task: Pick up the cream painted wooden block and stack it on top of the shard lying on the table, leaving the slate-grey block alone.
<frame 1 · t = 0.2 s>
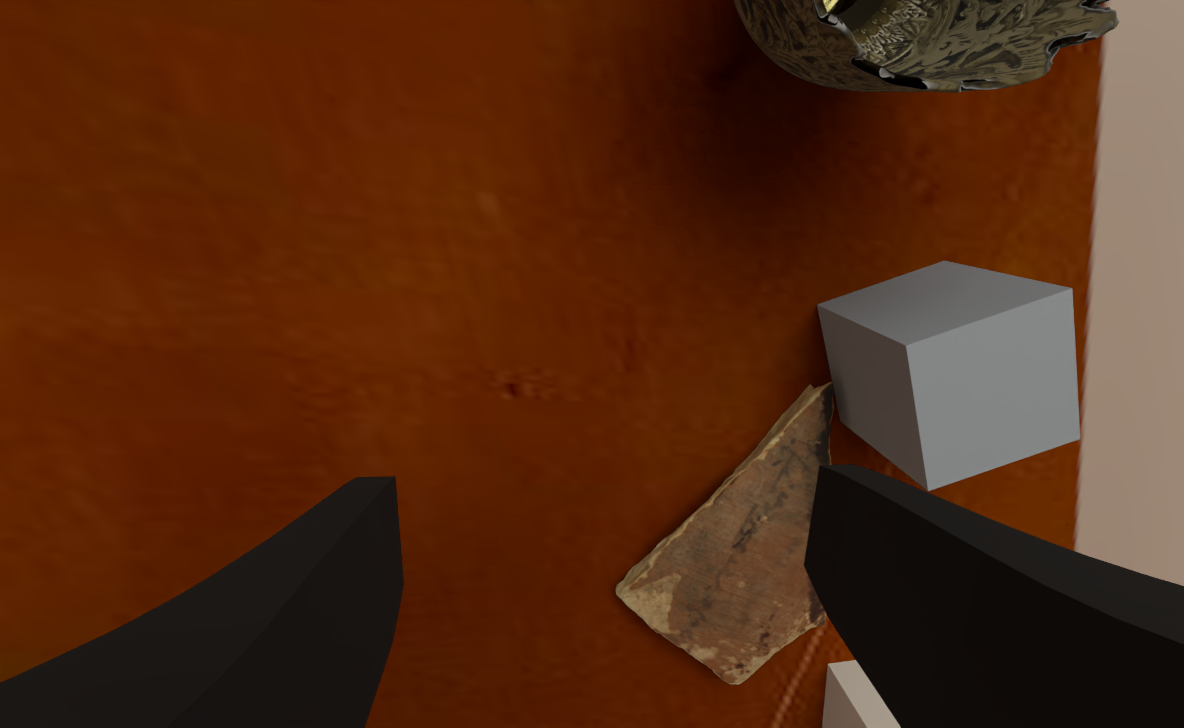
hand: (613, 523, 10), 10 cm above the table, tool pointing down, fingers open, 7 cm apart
shard: (712, 526, 23), on the table
cream block: (873, 697, 26), on the table
slate block: (889, 343, 21), on the table
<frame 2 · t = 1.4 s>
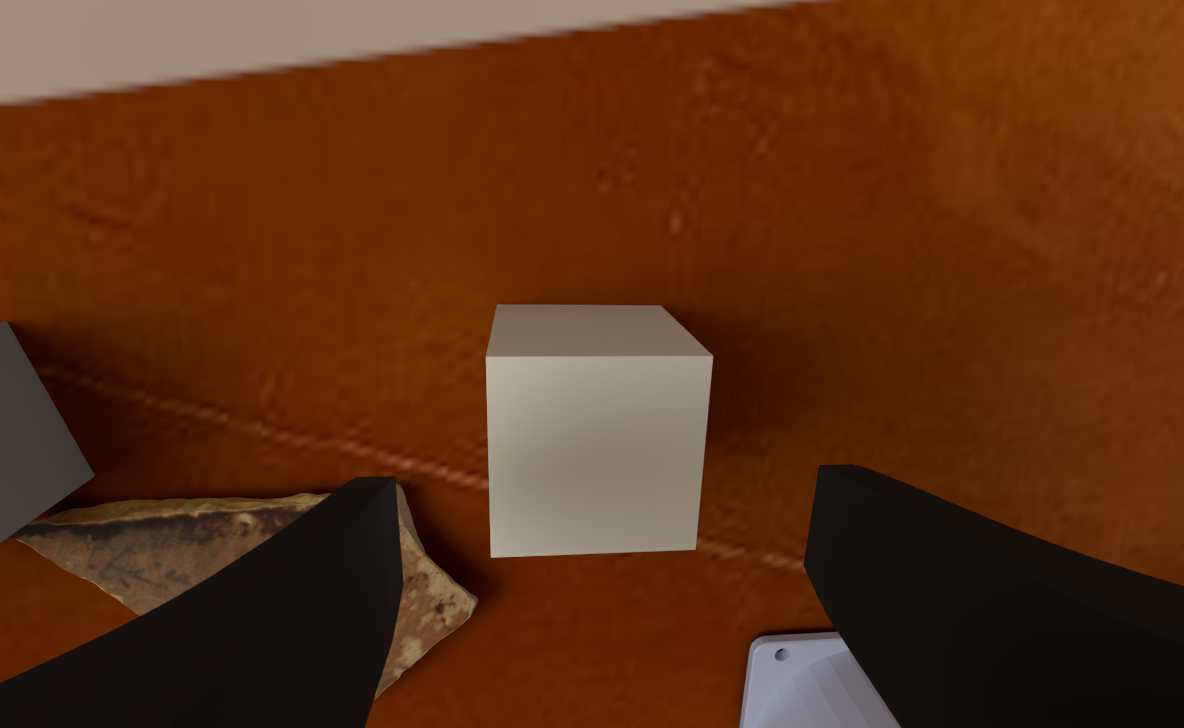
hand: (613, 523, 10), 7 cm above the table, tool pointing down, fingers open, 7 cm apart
shard: (286, 588, 19), on the table
cream block: (578, 381, 17), on the table
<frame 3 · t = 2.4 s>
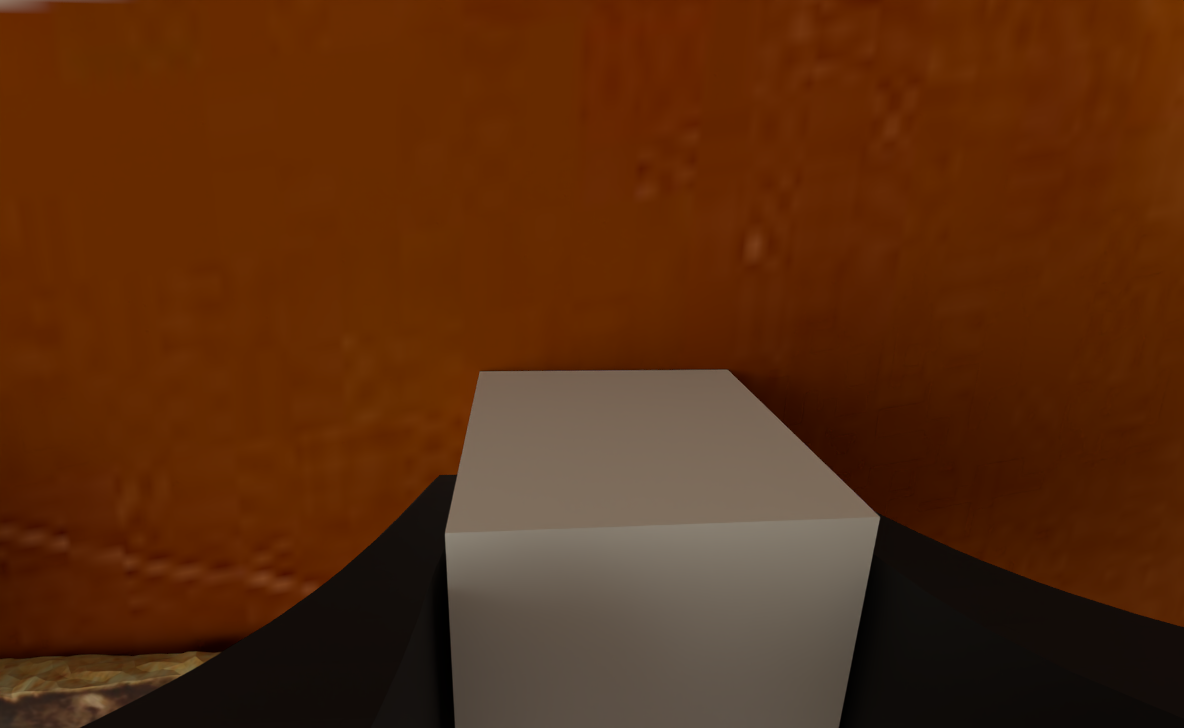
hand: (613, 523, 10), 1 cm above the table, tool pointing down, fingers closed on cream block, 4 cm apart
cream block: (602, 482, 12), on the table, touching gripper
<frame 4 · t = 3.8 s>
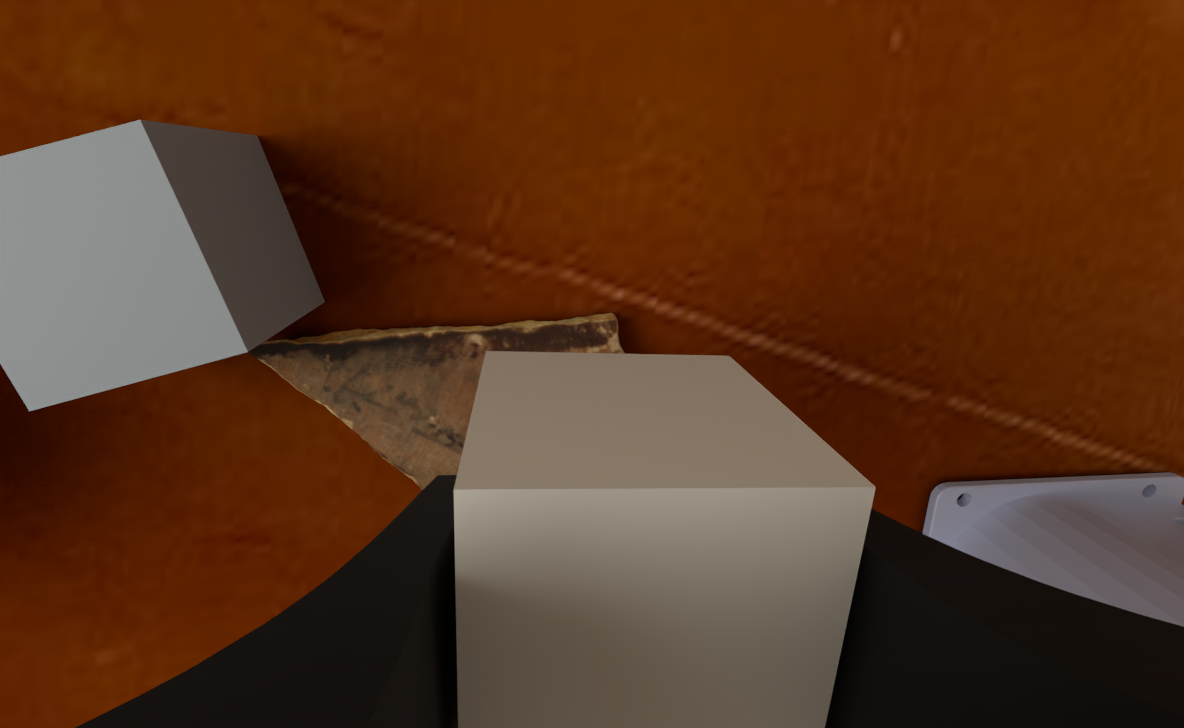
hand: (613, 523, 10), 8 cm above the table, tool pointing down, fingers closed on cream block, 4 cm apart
shard: (486, 433, 19), on the table
cream block: (603, 464, 12), point 7 cm above the table, touching gripper
slate block: (211, 244, 16), on the table
when the fingers open (5 cm above the table, at t = 5.2 s): cream block drops 2 cm, resting on shard.
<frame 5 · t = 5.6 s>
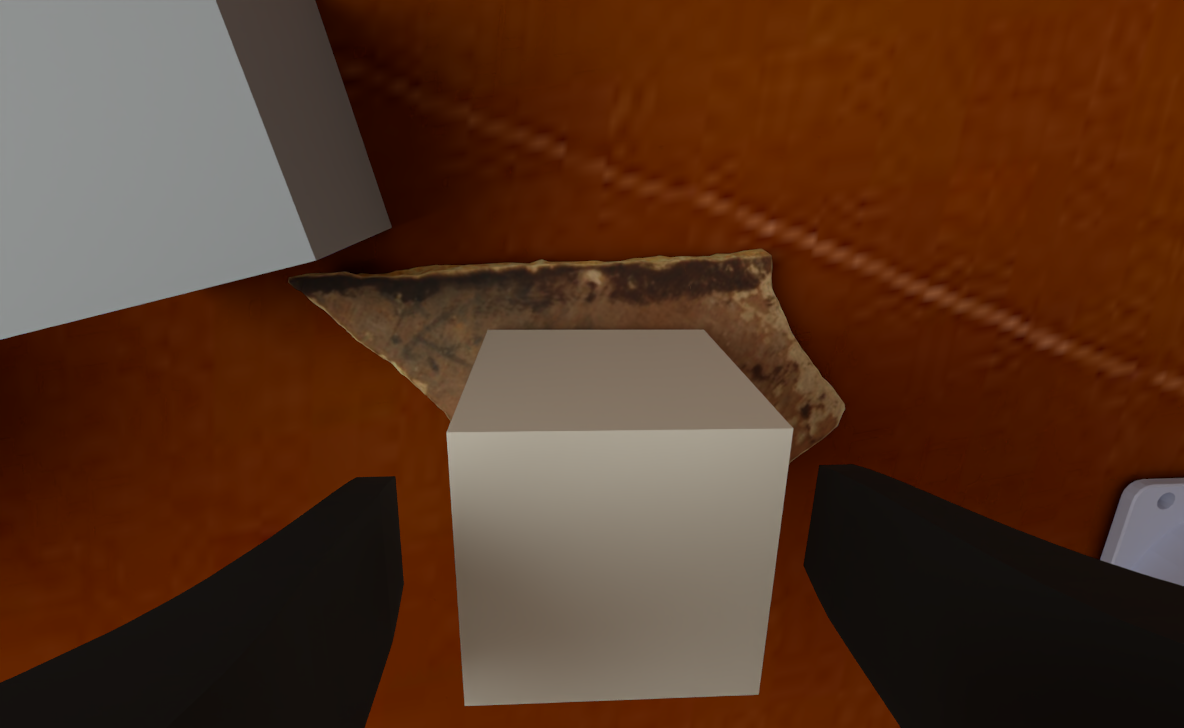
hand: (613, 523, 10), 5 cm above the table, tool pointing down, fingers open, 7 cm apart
shard: (582, 406, 15), on the table, touching cream block
cream block: (595, 428, 13), point 1 cm above the table, touching shard
slate block: (244, 143, 12), on the table
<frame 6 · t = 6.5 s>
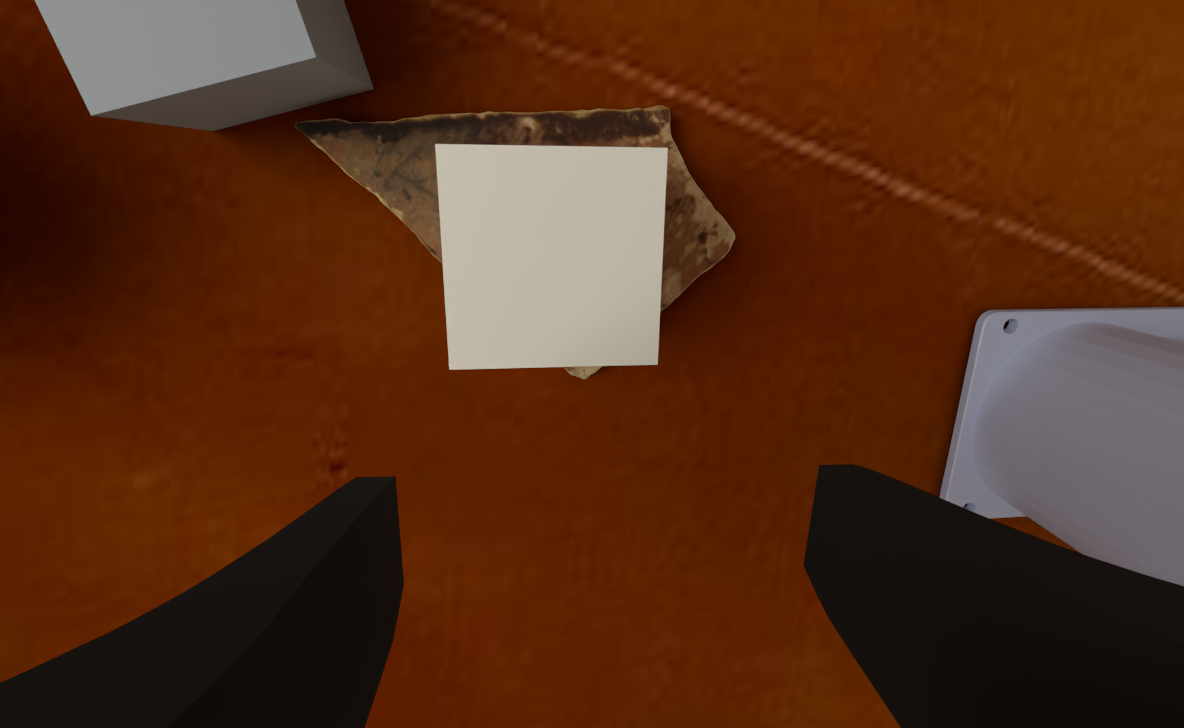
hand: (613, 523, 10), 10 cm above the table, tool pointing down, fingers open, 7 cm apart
shard: (531, 248, 19), on the table, touching cream block
cream block: (545, 237, 17), point 1 cm above the table, touching shard
slate block: (260, 20, 16), on the table
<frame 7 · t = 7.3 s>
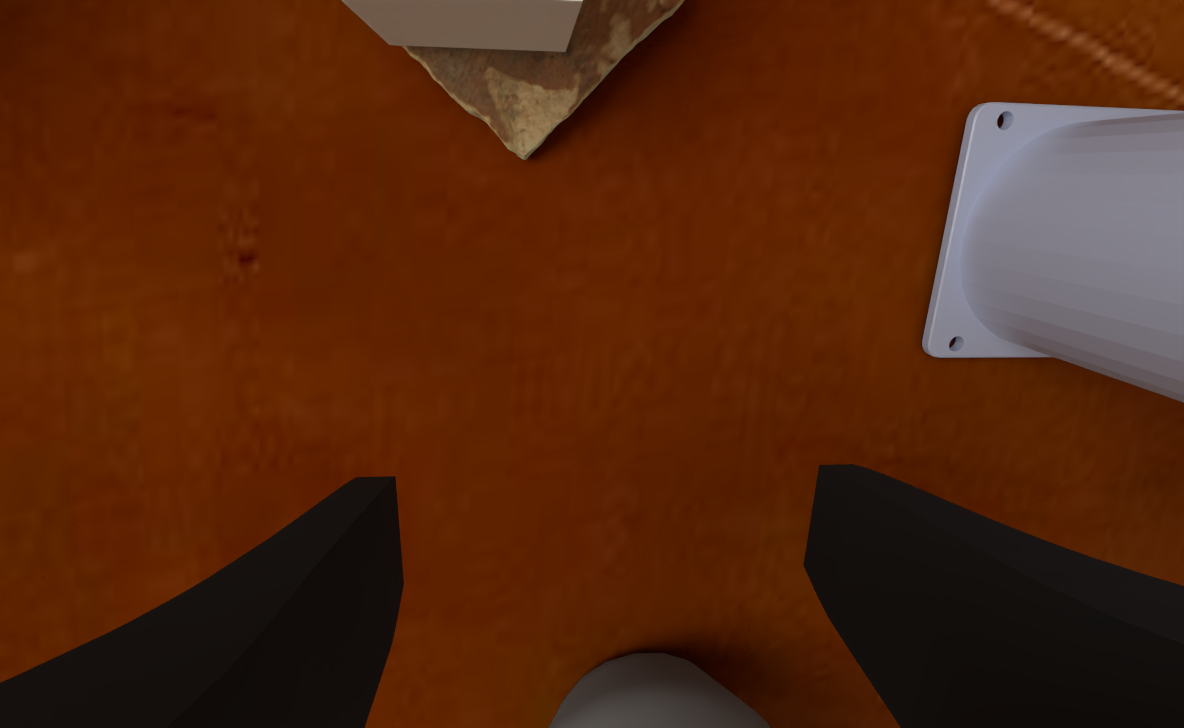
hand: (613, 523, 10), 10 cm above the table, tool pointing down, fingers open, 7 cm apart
shard: (467, 10, 17), on the table, touching cream block
cup: (636, 703, 25), on the table
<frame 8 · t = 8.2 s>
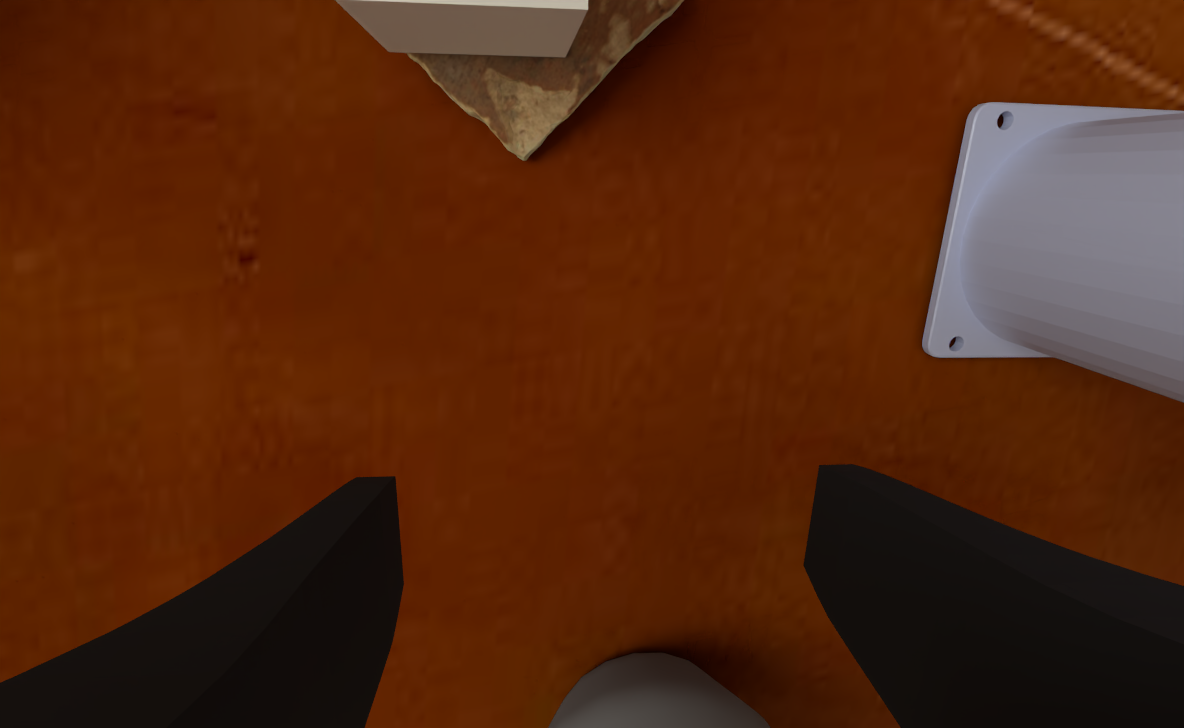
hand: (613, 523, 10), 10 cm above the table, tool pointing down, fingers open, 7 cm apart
shard: (466, 11, 17), on the table, touching cream block
cup: (636, 703, 25), on the table
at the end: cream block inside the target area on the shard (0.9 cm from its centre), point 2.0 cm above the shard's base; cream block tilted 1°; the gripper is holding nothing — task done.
